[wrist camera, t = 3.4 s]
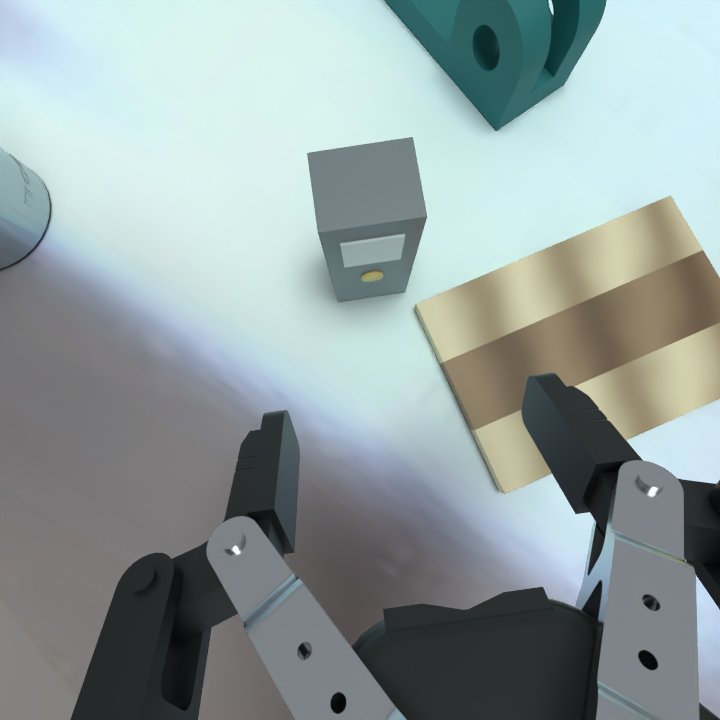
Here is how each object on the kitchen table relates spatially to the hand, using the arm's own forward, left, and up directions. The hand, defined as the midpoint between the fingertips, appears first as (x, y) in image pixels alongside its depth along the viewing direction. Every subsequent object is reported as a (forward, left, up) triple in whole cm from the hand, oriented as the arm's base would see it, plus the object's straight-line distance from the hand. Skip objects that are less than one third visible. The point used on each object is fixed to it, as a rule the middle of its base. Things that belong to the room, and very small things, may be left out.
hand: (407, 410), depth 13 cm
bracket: (+18, +26, -15) cm, 35 cm away
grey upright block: (+3, +10, -14) cm, 18 cm away
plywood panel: (+15, -1, -14) cm, 21 cm away
